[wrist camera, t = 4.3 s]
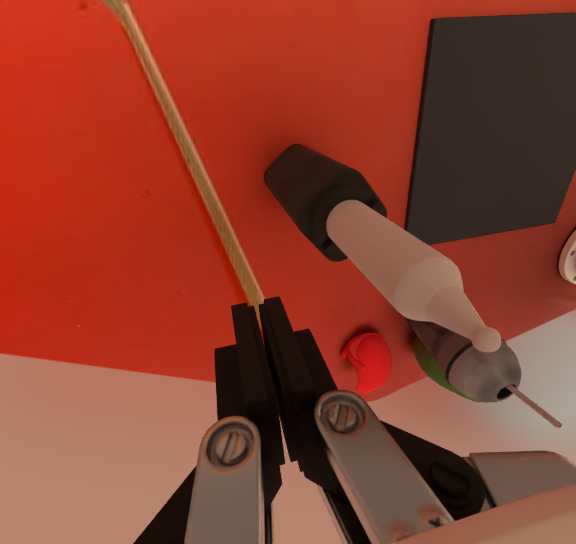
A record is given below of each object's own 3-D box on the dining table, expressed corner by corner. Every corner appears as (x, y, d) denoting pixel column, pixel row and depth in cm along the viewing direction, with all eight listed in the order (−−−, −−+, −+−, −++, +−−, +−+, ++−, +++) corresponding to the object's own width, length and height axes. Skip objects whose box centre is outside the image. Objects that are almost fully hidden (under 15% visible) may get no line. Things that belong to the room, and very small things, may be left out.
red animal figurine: (341, 328, 42) (360, 360, 37) (381, 322, 43) (405, 351, 38) (336, 370, 46) (353, 404, 41) (374, 363, 47) (394, 395, 42)
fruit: (405, 316, 44) (466, 382, 34) (455, 304, 45) (528, 364, 35) (400, 357, 48) (453, 427, 38) (446, 345, 49) (510, 409, 39)
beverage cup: (383, 323, 44) (497, 467, 27) (401, 278, 40) (544, 408, 23) (425, 324, 46) (557, 457, 29) (446, 281, 43) (608, 403, 25)
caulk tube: (258, 177, 30) (392, 363, 9) (297, 138, 29) (549, 240, 8) (292, 212, 33) (459, 424, 11) (328, 177, 32) (583, 335, 10)
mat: (629, 11, 31) (636, 9, 30) (550, 221, 42) (555, 222, 41) (430, 19, 27) (435, 18, 27) (402, 247, 38) (404, 249, 38)
